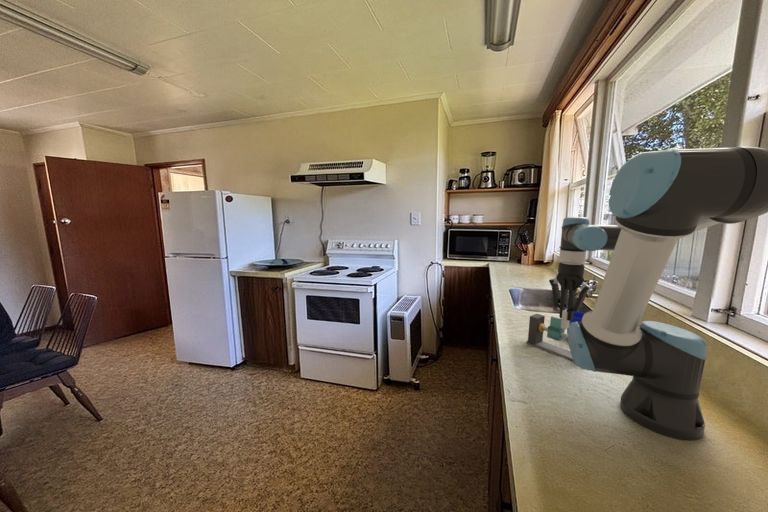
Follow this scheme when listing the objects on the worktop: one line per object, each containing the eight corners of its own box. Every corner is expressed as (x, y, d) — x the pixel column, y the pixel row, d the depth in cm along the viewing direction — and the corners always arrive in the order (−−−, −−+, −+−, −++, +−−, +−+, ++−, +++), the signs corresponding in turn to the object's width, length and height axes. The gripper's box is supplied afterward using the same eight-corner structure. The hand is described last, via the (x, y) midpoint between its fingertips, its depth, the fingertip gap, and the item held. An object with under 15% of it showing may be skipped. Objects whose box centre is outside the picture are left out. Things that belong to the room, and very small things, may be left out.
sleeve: (563, 338, 106) (565, 318, 105) (558, 340, 104) (560, 320, 103) (552, 334, 109) (554, 315, 108) (546, 336, 107) (548, 317, 106)
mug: (604, 343, 113) (607, 318, 112) (573, 343, 113) (575, 318, 112) (590, 334, 121) (592, 311, 120) (560, 334, 122) (563, 311, 120)
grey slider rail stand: (587, 359, 101) (590, 329, 99) (580, 364, 98) (584, 332, 96) (533, 339, 116) (535, 313, 115) (526, 342, 114) (528, 315, 112)
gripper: (598, 264, 97) (590, 331, 101) (557, 258, 107) (551, 320, 111) (588, 266, 93) (580, 337, 96) (546, 260, 103) (540, 324, 107)
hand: (564, 327), depth 104 cm, fingers closed
